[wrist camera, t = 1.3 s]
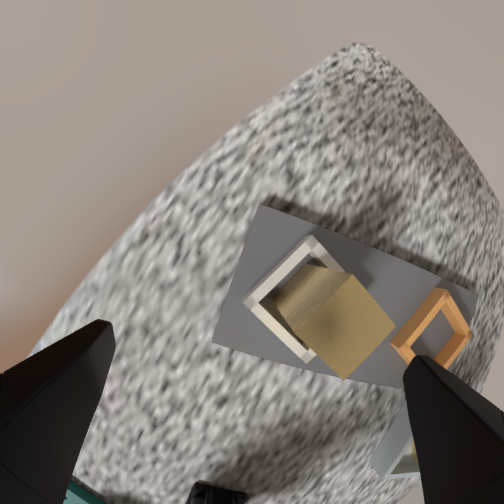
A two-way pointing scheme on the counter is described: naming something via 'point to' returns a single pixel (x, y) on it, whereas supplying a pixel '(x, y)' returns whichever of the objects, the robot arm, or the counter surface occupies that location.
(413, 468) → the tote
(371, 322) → the block
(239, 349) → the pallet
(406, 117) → the counter surface
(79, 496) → the bracket
